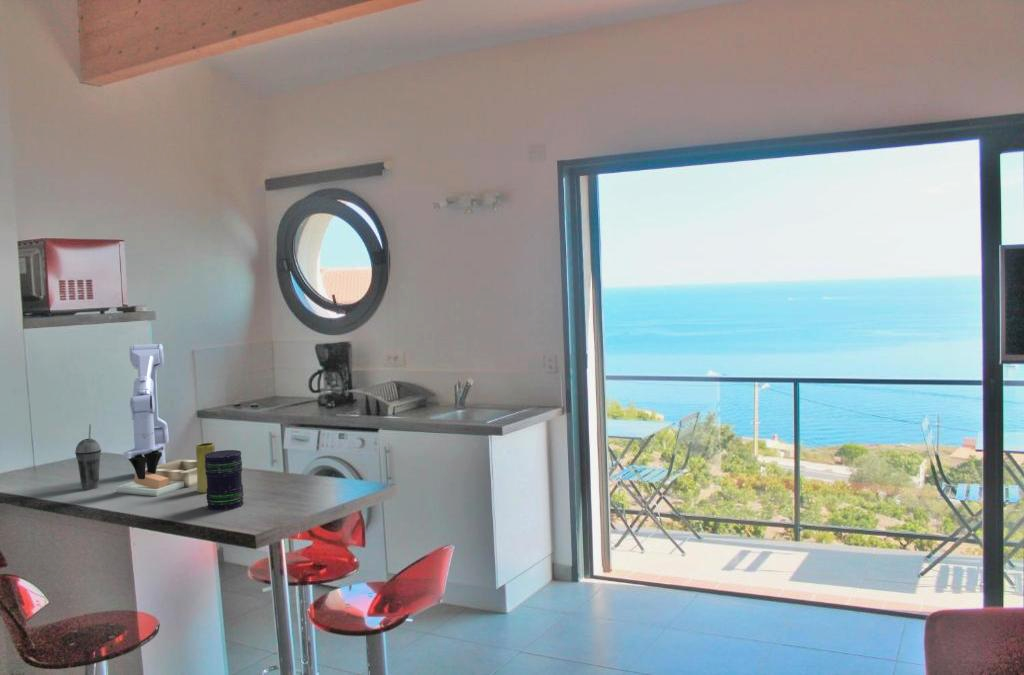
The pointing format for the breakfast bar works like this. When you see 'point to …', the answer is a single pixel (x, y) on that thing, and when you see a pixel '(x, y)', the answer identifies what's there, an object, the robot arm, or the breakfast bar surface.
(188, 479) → the block
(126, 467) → the breakfast bar surface
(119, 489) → the tray
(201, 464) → the vase
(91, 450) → the beverage cup
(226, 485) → the storage jar
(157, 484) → the slab
